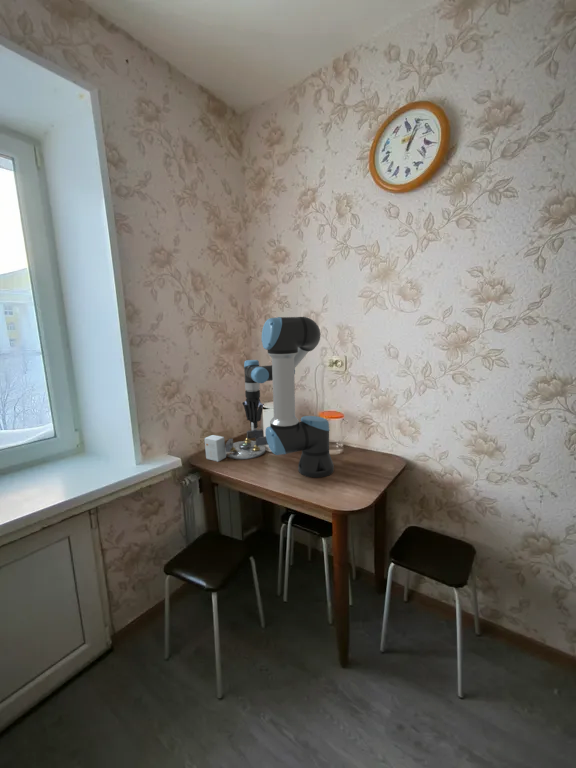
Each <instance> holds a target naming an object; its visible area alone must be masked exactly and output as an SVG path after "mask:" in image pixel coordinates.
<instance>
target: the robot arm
mask: <svg viewBox="0 0 576 768" xmlns="http://www.w3.org/2000/svg"><path fill="white" fill-rule="evenodd" d="M320 340H321V329H320V328H319V326H318V324H317V323H316V322H315V320H314V319H312V318H311V317H308V316H289V317H288V316H285V317H284V316H283V317H280V316H277V317H271V318H270V317H269V318H268V319H266V321H265V322H264V324H263V326H262V331H261V343H262V344H261V345H262V347H263V349H264V350H266V351H267V355H269V357H271V364H270V365H260V363H259V360H258V359H247V360H245V361H244V364H243V370H244V371H243V372H244V390H245V394H244V395H245V401H243V402H242V405H243V409H244V413H245V416H246V421H249V423H250V428H251V430H258V427H259V426H258V422H260V421H261V419H262V414H263V408H264V407H263V405H264V406H265V404H264V403H262V402H261V400H260V397H261V390H260V389H261V387H260V386H261V385H260V384H264V383H266V382H271V381H272V395H273V396H272V401H273V405H272V406H273V417H272V418H271V420H270V421H269V424H270V425H269V426H268V427H265V432H264V433H265V436H266V439H267V443H268V445H267V446H268V448H269V450H270V451H271V453H272V454H274V455H276V456H279V455H286V454H287V455H288V454H291V453H296V452H301V455H300V458H299V462H298V466H297V467H298V469H297V470H298V472H299V474H301V475H302V476H303V477H304V476H305V477H309V478H314V479H315V478H324V477H328V476H330V475H332V474H333V473H334V470H335V469H334V463H333V460H332V457H331V454H330V431H331V430H330V426H329V425H330V423H329V421H328V420H327V419H326V418H324V417H320V416H315V415H303V416H302V417H301V418H300V420H299V418H298V417H297V416H296V395H295V394H296V393H295V392H296V391H295V389H296V388H295V374H296V368H297V367H298V365H299V364H300V363H301V361H303V360H304V358H305V357H306V355H307V354H308V353H309V352H311V351H313V350H314V349H316V348H317V346H318V344H319V343H320Z"/></svg>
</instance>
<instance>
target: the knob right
mask: <svg viewBox="0 0 576 768" xmlns="http://www.w3.org/2000/svg"><path fill="white" fill-rule="evenodd" d="M263 432H264V431H263V429H257V430H252V429H250V430H246V437H245V439H244V440H243V441H244V443H251V441H252V440H251V439H255V438H256V437H264V433H263Z"/></svg>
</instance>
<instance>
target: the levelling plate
mask: <svg viewBox="0 0 576 768" xmlns="http://www.w3.org/2000/svg"><path fill="white" fill-rule="evenodd" d="M254 445H256V440H251V443H244V440H243V441H242V440H241V441H236V442H233V447H235V451H230V452H226V458H229V459H233V460H249V459H255V458H258V457H260V456H262V455H264V453H266V445H265V446H264V445H259V446H258V447H260V450H259V451H253V447H254ZM225 451H226V447H225Z"/></svg>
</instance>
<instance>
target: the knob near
mask: <svg viewBox="0 0 576 768" xmlns="http://www.w3.org/2000/svg"><path fill="white" fill-rule="evenodd" d="M254 439H255V441H256V445H254V447H253V451H259V450H260V447H258V446H259V445H265V446H268V443H267V439H266V435H265V436H263V437H256V438H254Z"/></svg>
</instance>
